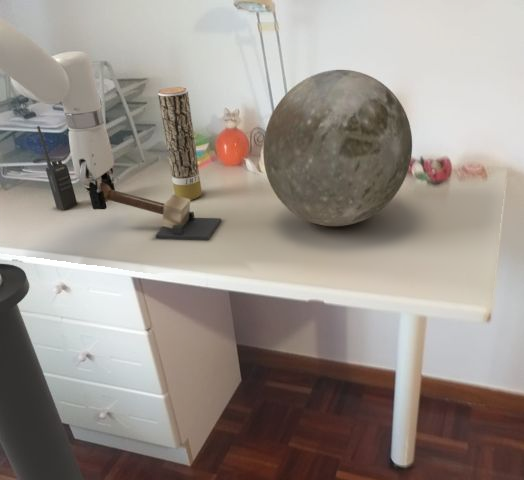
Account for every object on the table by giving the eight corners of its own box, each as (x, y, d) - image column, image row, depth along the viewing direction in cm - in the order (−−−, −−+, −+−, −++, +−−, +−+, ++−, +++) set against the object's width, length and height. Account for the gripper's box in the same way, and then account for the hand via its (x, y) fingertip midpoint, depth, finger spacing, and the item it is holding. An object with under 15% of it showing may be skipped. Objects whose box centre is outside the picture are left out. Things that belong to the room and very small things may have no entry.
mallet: (188, 219, 129) (190, 199, 126) (179, 230, 124) (181, 209, 121) (99, 195, 130) (98, 174, 127) (86, 205, 126) (86, 184, 123)
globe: (291, 192, 141) (285, 58, 124) (415, 199, 131) (427, 55, 114) (248, 244, 118) (233, 89, 101) (394, 256, 109) (405, 88, 92)
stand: (221, 221, 129) (219, 211, 128) (207, 240, 121) (206, 229, 120) (171, 220, 132) (170, 210, 131) (155, 238, 124) (153, 227, 123)
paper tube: (170, 200, 143) (151, 93, 128) (184, 190, 148) (168, 86, 133) (193, 202, 140) (177, 94, 126) (207, 192, 145) (193, 87, 131)
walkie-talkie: (64, 210, 142) (40, 128, 130) (55, 208, 144) (31, 126, 132) (79, 204, 145) (57, 122, 134) (70, 202, 147) (48, 121, 135)
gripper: (87, 109, 125) (106, 191, 135) (48, 130, 111) (72, 218, 122) (119, 109, 123) (135, 191, 134) (82, 130, 110) (104, 219, 120)
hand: (105, 203), depth 128 cm, fingers closed on mallet, 4 cm apart
